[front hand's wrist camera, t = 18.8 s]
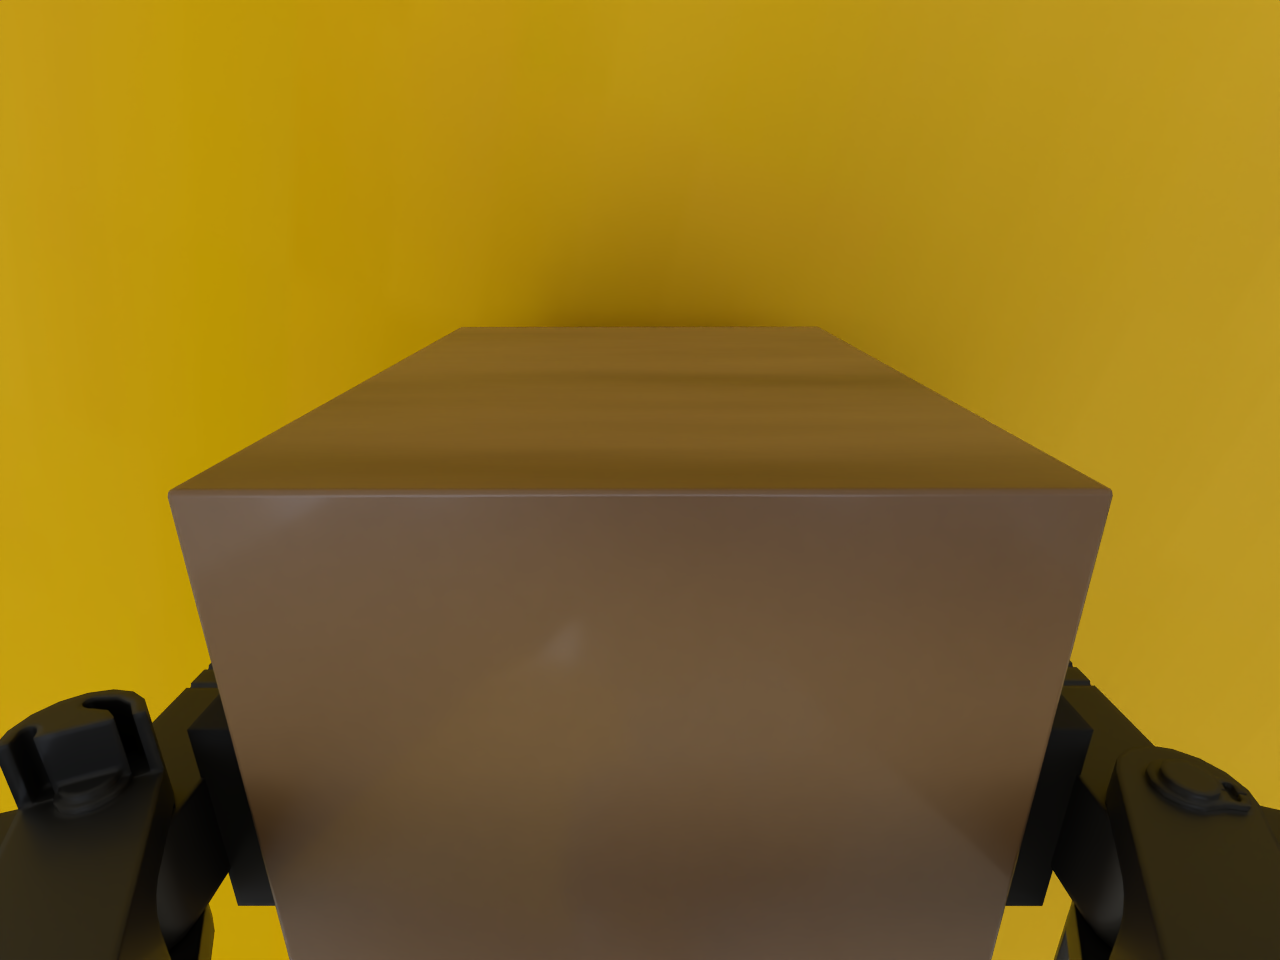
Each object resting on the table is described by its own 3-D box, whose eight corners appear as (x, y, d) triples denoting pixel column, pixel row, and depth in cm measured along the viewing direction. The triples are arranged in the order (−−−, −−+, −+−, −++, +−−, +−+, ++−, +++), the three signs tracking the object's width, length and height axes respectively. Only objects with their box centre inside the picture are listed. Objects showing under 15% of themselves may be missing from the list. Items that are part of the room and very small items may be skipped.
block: (459, 326, 16) (163, 491, 6) (819, 326, 16) (1117, 490, 6) (488, 638, 19) (322, 1092, 9) (791, 637, 19) (959, 1091, 9)
